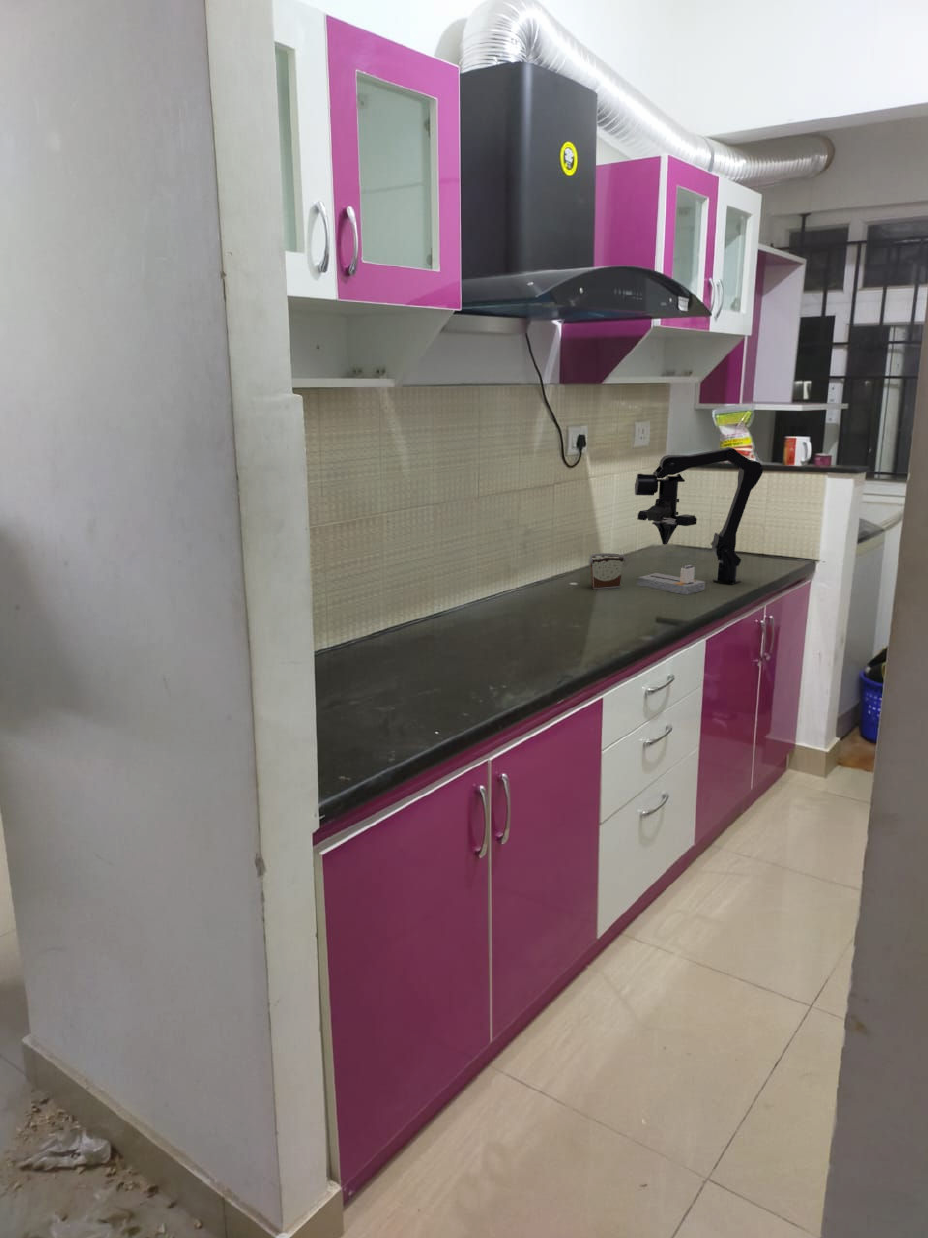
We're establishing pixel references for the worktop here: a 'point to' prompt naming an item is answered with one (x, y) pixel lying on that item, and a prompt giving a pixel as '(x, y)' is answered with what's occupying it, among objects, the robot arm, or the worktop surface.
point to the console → (670, 583)
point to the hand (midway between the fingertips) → (664, 544)
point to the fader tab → (687, 574)
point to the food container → (606, 570)
